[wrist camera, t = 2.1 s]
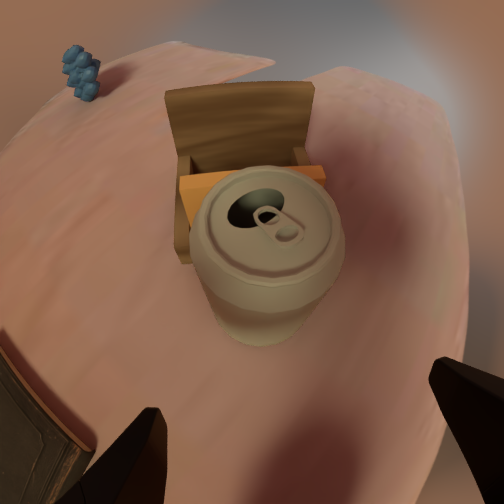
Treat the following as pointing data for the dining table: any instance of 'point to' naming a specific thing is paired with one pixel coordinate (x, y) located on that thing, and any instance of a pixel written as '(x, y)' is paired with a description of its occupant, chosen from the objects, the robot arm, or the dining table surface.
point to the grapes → (81, 72)
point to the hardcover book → (34, 445)
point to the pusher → (201, 184)
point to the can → (266, 251)
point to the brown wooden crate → (235, 132)
